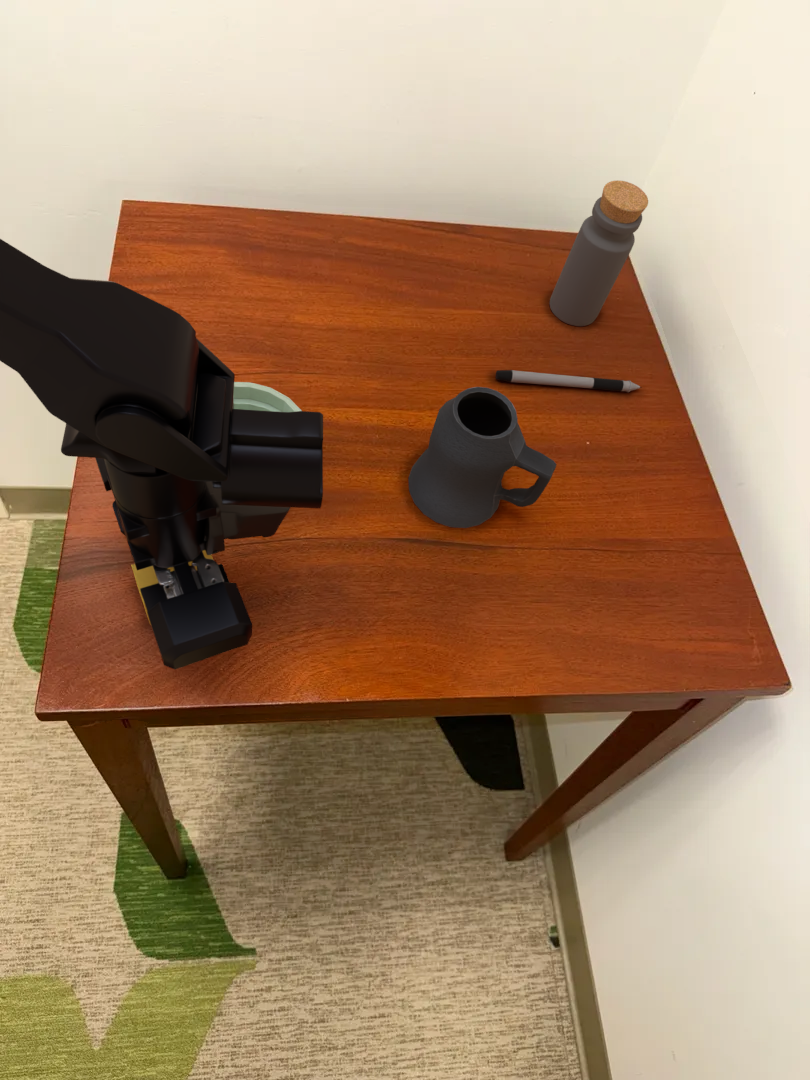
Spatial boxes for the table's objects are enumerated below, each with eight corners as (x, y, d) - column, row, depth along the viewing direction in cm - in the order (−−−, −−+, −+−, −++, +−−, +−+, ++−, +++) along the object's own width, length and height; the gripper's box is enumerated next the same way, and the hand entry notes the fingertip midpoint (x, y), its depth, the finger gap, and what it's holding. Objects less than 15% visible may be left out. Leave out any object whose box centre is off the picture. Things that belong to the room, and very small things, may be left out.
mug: (392, 500, 71) (413, 425, 62) (430, 434, 76) (456, 355, 66) (509, 557, 70) (549, 490, 61) (540, 487, 75) (582, 414, 65)
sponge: (150, 625, 61) (144, 604, 58) (137, 587, 63) (130, 564, 59) (223, 601, 63) (221, 579, 60) (209, 565, 65) (206, 542, 61)
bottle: (541, 311, 88) (590, 196, 75) (559, 283, 91) (609, 168, 78) (587, 334, 87) (644, 222, 74) (603, 305, 90) (661, 193, 77)
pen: (494, 374, 82) (497, 366, 81) (638, 386, 84) (643, 378, 83) (495, 383, 81) (498, 375, 80) (640, 396, 84) (646, 387, 83)
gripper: (331, 564, 48) (314, 656, 61) (233, 350, 55) (237, 473, 69) (152, 622, 44) (176, 707, 57) (73, 384, 52) (110, 508, 65)
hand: (179, 589), depth 62 cm, fingers closed on sponge, 3 cm apart
